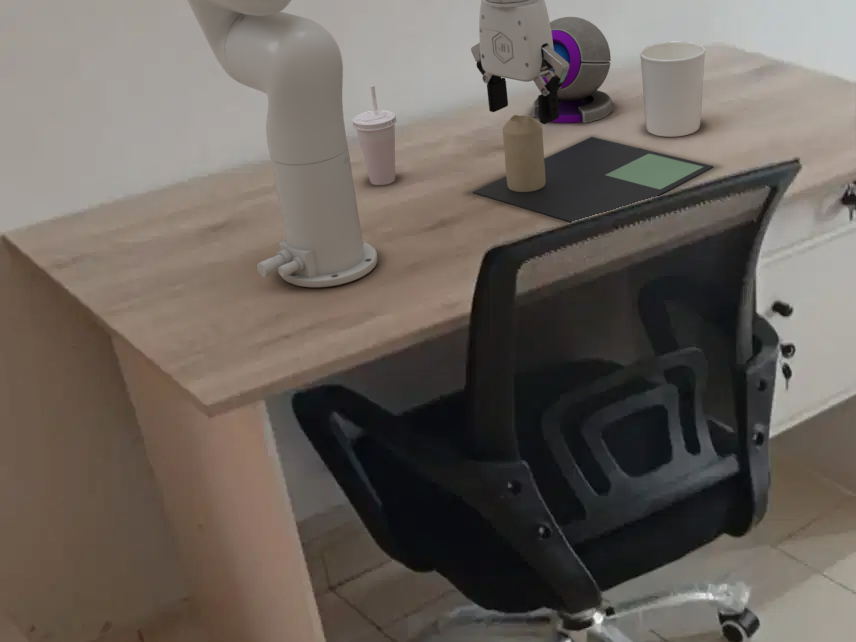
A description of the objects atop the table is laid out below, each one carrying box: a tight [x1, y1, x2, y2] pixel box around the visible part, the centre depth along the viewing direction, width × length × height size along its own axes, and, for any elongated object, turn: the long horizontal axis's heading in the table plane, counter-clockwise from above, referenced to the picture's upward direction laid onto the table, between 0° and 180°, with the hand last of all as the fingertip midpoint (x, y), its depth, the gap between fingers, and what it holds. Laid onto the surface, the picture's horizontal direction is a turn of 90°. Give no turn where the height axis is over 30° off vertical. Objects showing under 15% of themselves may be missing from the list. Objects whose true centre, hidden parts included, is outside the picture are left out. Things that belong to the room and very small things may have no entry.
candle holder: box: [639, 40, 707, 138], centre depth 190 cm, size 10×10×12 cm
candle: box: [502, 114, 546, 192], centre depth 175 cm, size 6×6×10 cm
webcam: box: [532, 16, 613, 124], centre depth 200 cm, size 13×13×15 cm
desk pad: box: [472, 136, 714, 223], centre depth 178 cm, size 26×23×1 cm
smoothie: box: [351, 85, 397, 186], centre depth 181 cm, size 6×6×14 cm
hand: (523, 114), depth 172 cm, fingers open, 9 cm apart
